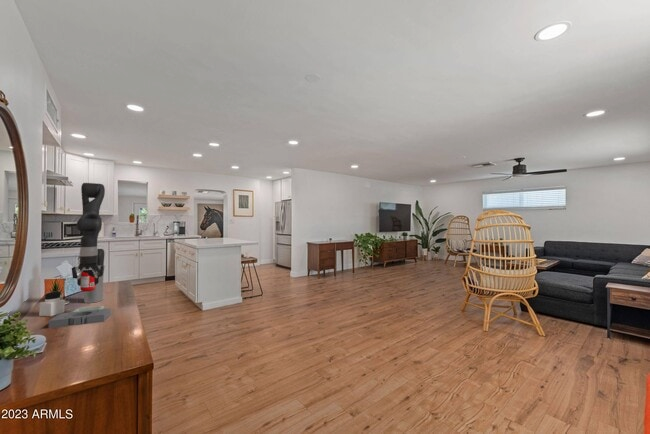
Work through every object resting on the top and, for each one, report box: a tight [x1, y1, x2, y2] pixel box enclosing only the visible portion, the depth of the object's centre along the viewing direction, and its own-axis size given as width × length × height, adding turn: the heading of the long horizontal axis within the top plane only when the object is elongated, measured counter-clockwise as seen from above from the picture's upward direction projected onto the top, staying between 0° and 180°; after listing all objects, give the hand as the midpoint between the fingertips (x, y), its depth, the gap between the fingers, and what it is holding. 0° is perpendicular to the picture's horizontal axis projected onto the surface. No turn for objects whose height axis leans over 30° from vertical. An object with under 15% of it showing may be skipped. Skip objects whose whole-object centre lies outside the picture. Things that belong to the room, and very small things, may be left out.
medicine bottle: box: [39, 290, 66, 317], centre depth 149 cm, size 7×7×12 cm
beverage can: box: [79, 269, 96, 293], centre depth 151 cm, size 6×6×12 cm
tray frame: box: [72, 305, 105, 312], centre depth 150 cm, size 12×12×2 cm
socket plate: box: [48, 307, 112, 329], centre depth 139 cm, size 21×12×4 cm, turn 115°
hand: (88, 284), depth 151 cm, fingers closed on beverage can, 6 cm apart
